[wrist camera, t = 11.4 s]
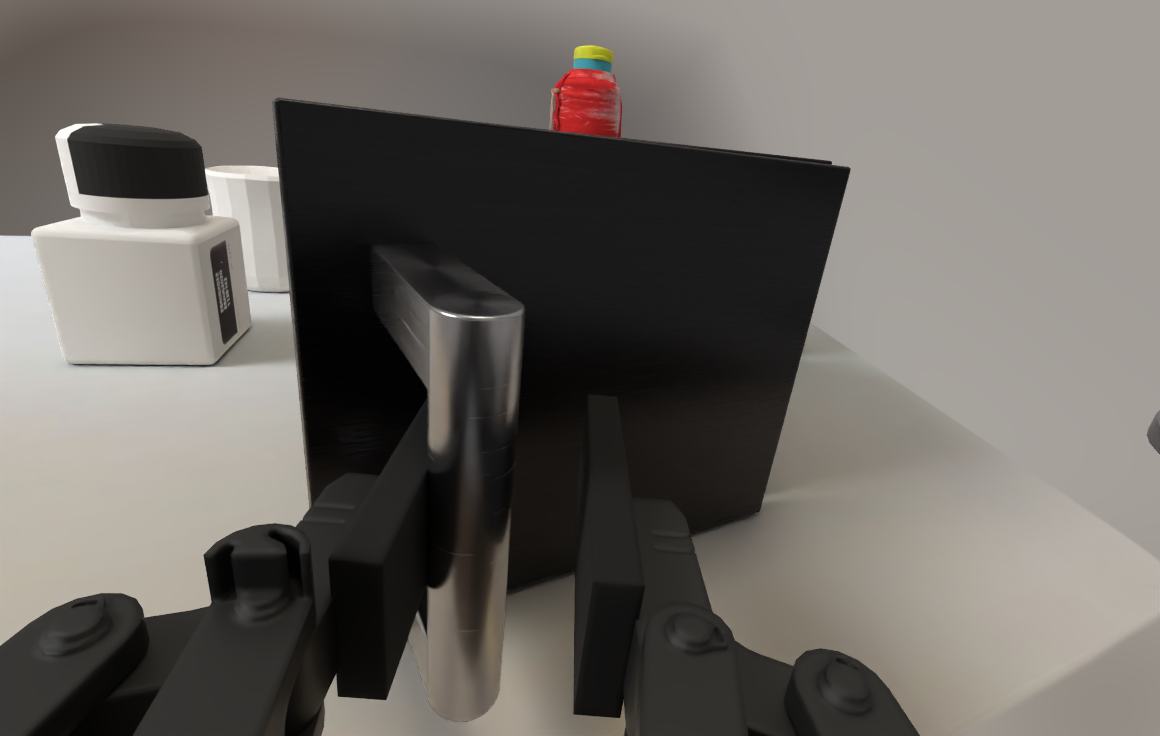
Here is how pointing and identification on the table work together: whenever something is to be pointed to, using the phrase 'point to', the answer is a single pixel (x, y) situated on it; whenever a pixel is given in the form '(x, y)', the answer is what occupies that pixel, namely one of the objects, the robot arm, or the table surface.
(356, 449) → the door
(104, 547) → the table surface
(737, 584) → the table surface
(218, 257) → the container
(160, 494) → the table surface
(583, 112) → the water bottle
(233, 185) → the cup
